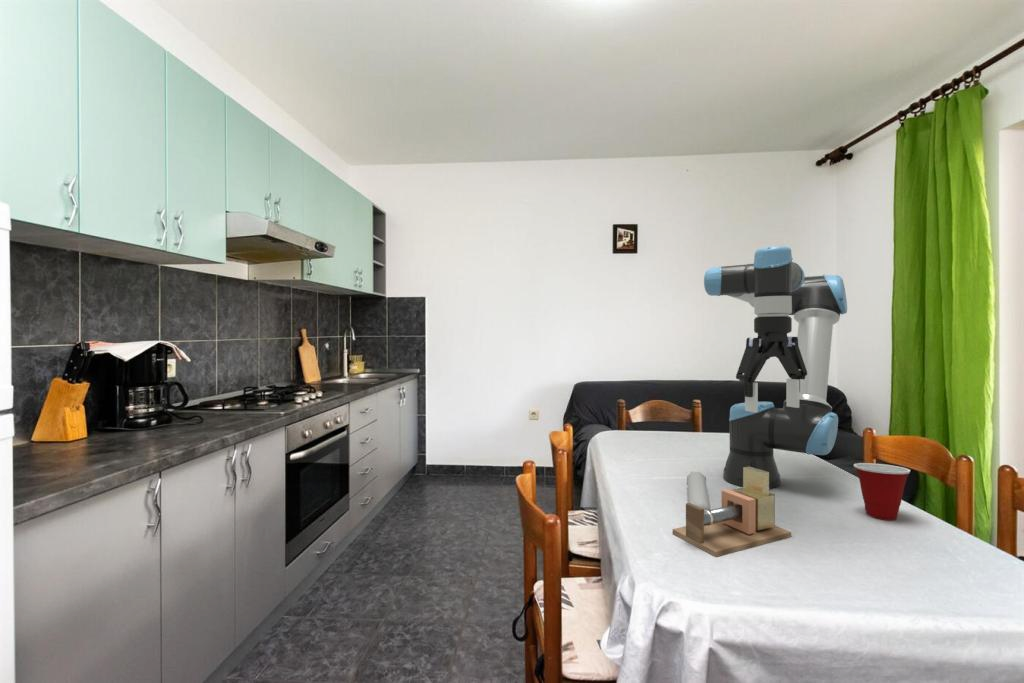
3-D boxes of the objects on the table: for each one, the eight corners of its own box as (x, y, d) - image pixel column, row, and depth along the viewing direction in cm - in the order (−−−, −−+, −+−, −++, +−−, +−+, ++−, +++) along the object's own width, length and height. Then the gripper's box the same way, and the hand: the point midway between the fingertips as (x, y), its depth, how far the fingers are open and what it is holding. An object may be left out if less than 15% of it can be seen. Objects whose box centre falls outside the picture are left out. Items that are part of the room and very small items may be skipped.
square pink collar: (728, 520, 109) (728, 489, 109) (755, 532, 103) (755, 499, 103) (721, 522, 109) (721, 490, 108) (748, 534, 102) (748, 500, 102)
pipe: (759, 509, 110) (759, 496, 110) (771, 513, 108) (771, 500, 108) (689, 525, 102) (689, 511, 102) (700, 530, 99) (700, 515, 99)
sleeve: (747, 515, 112) (747, 465, 111) (774, 526, 105) (774, 473, 105) (732, 519, 110) (732, 467, 109) (758, 530, 103) (758, 476, 103)
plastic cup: (893, 508, 119) (893, 460, 119) (921, 526, 109) (921, 473, 108) (844, 506, 121) (844, 458, 121) (867, 522, 111) (867, 471, 110)
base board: (744, 517, 115) (744, 483, 115) (791, 536, 104) (791, 499, 104) (672, 533, 106) (672, 497, 106) (715, 556, 95) (715, 516, 95)
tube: (715, 508, 111) (709, 475, 134) (692, 498, 112) (690, 468, 136) (707, 528, 112) (702, 493, 135) (684, 518, 113) (683, 485, 137)
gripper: (794, 316, 118) (794, 403, 118) (718, 316, 108) (718, 410, 108) (825, 315, 111) (824, 407, 111) (746, 315, 101) (746, 416, 101)
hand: (772, 409), depth 110 cm, fingers open, 13 cm apart
